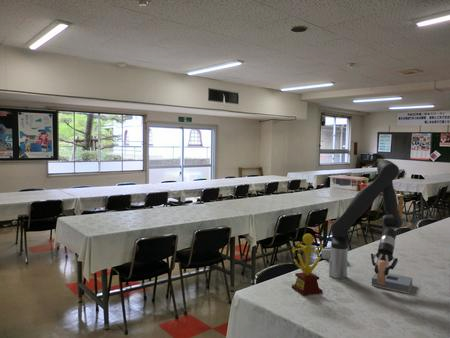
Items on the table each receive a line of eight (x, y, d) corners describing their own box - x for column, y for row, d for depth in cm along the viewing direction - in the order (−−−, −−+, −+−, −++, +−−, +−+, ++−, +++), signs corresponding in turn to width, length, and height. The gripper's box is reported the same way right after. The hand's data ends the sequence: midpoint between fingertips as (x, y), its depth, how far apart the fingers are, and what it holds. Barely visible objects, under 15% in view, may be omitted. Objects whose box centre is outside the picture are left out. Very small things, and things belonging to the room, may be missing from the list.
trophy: (288, 293, 180) (289, 235, 178) (295, 283, 194) (296, 229, 192) (317, 298, 174) (318, 238, 172) (322, 287, 188) (323, 232, 187)
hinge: (348, 262, 232) (346, 249, 230) (345, 265, 229) (343, 252, 226) (325, 256, 244) (323, 244, 241) (322, 260, 241) (319, 247, 238)
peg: (376, 283, 184) (377, 261, 183) (377, 281, 188) (378, 259, 187) (384, 285, 182) (385, 263, 181) (385, 283, 185) (387, 261, 184)
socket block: (371, 285, 192) (371, 278, 192) (377, 277, 204) (377, 271, 203) (408, 293, 182) (408, 285, 182) (412, 285, 193) (412, 277, 193)
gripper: (372, 239, 194) (365, 267, 184) (400, 244, 186) (395, 273, 176) (373, 247, 198) (367, 274, 189) (401, 252, 190) (396, 280, 181)
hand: (380, 273), depth 183 cm, fingers closed on peg, 4 cm apart
